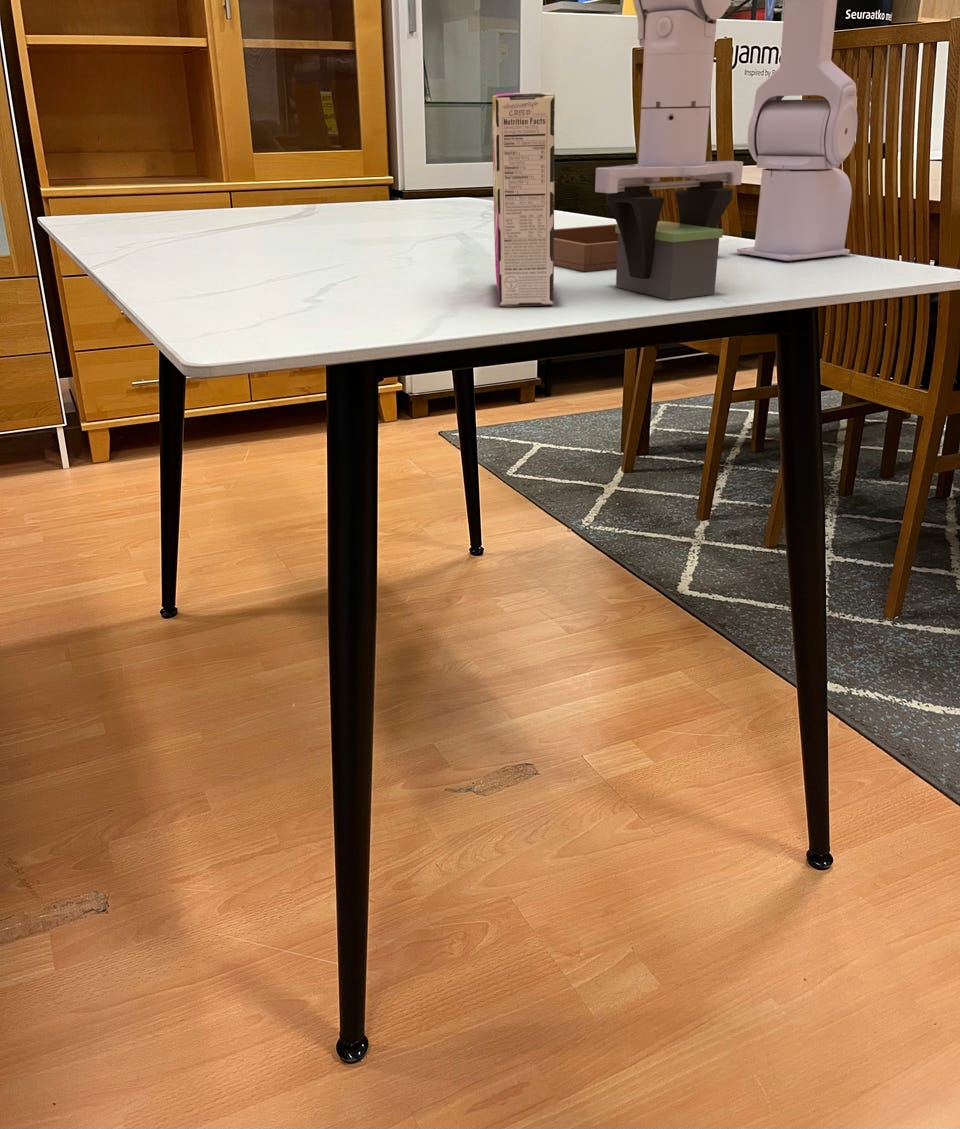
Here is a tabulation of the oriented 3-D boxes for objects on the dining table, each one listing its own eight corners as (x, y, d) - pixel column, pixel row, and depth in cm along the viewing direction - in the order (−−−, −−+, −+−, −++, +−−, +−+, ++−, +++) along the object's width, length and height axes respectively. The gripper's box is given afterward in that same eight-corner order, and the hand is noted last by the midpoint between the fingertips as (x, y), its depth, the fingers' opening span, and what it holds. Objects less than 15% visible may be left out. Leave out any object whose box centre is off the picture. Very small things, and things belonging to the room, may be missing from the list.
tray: (641, 244, 116) (643, 221, 115) (717, 257, 105) (719, 232, 104) (516, 256, 109) (516, 232, 108) (583, 271, 98) (584, 245, 97)
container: (658, 281, 92) (662, 220, 89) (717, 294, 85) (723, 229, 83) (612, 286, 90) (615, 224, 87) (669, 300, 83) (674, 233, 80)
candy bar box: (493, 285, 91) (491, 93, 84) (545, 284, 91) (548, 92, 84) (495, 307, 81) (493, 91, 74) (554, 306, 81) (558, 90, 74)
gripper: (634, 109, 75) (625, 288, 80) (773, 106, 81) (756, 272, 87) (583, 109, 80) (578, 277, 86) (717, 107, 86) (704, 263, 92)
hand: (664, 274), depth 87 cm, fingers closed on container, 5 cm apart
